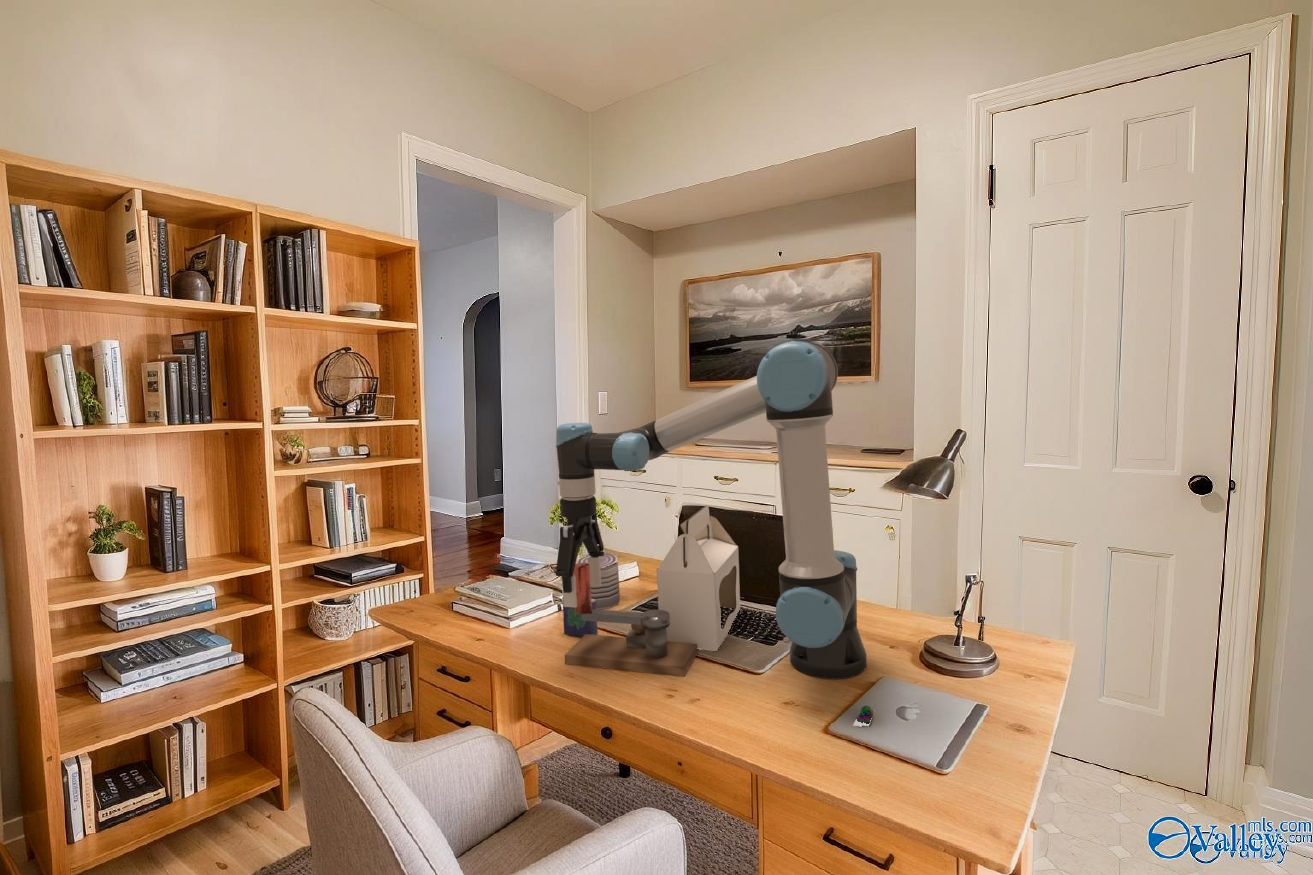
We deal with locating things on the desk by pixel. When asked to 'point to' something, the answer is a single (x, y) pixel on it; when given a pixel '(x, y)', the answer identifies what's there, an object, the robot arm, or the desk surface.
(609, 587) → the can
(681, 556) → the gable box
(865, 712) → the green rounded lump
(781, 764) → the desk surface
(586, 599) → the lever
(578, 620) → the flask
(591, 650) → the wooden base plate
